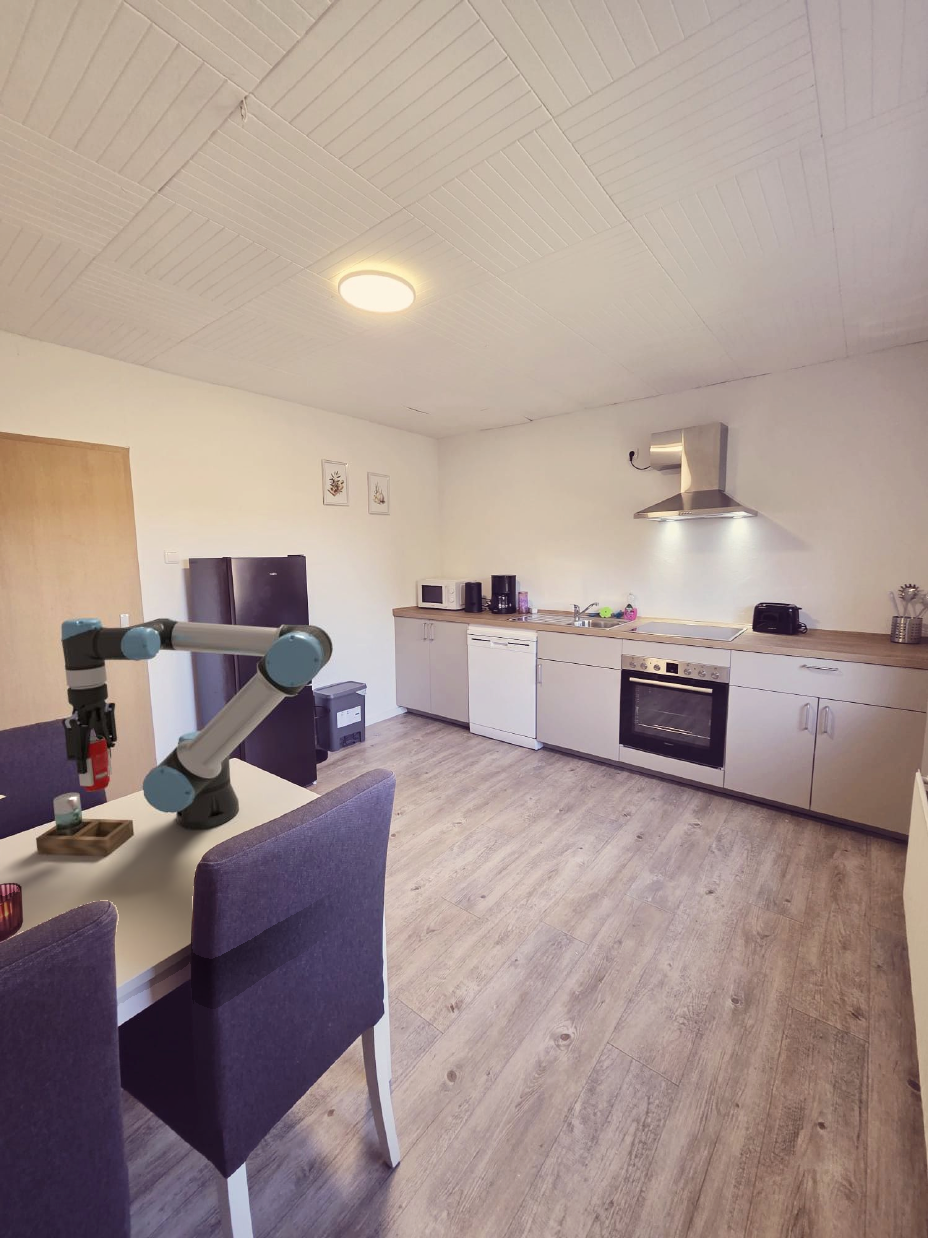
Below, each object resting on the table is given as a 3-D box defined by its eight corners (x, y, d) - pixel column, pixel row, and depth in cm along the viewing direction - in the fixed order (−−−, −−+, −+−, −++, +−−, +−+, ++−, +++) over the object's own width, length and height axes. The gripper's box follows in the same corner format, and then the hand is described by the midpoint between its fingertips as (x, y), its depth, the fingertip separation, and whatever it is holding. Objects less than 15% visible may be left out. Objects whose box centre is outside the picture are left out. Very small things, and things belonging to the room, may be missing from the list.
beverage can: (85, 794, 118) (80, 745, 117) (81, 787, 122) (77, 739, 120) (112, 787, 122) (108, 739, 120) (107, 780, 126) (103, 733, 124)
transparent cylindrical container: (89, 838, 127) (85, 792, 125) (73, 850, 122) (68, 802, 120) (69, 837, 127) (64, 792, 125) (52, 849, 122) (47, 802, 120)
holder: (133, 835, 128) (132, 820, 128) (107, 856, 120) (106, 840, 119) (68, 833, 129) (67, 818, 129) (37, 854, 120) (35, 838, 120)
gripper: (100, 675, 128) (108, 763, 131) (37, 695, 110) (49, 797, 113) (129, 675, 128) (137, 764, 131) (71, 696, 109) (82, 798, 113)
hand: (96, 779), depth 122 cm, fingers closed on beverage can, 5 cm apart
